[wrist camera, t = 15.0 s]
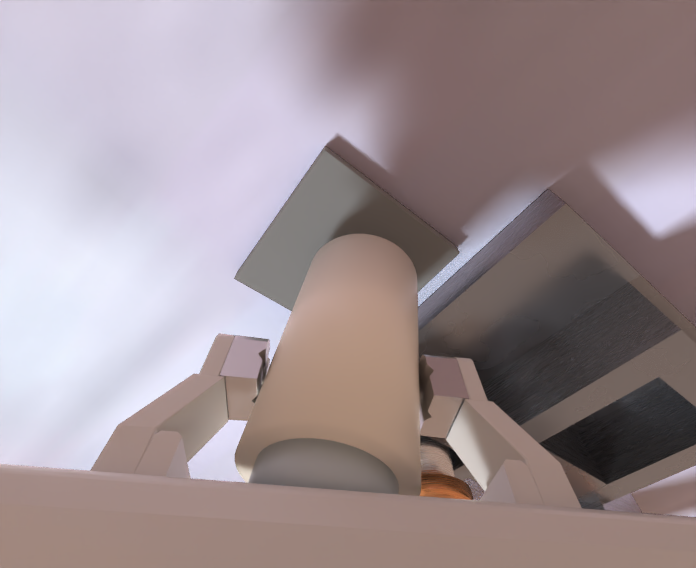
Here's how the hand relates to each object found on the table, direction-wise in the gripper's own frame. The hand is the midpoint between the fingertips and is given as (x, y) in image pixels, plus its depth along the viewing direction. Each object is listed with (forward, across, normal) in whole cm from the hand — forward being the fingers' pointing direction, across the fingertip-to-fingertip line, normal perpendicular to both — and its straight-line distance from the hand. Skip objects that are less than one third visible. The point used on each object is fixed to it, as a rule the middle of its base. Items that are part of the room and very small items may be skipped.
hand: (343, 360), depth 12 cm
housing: (+6, -12, +7) cm, 15 cm away
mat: (+6, 0, 0) cm, 6 cm away
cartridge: (+4, -1, 0) cm, 4 cm away
